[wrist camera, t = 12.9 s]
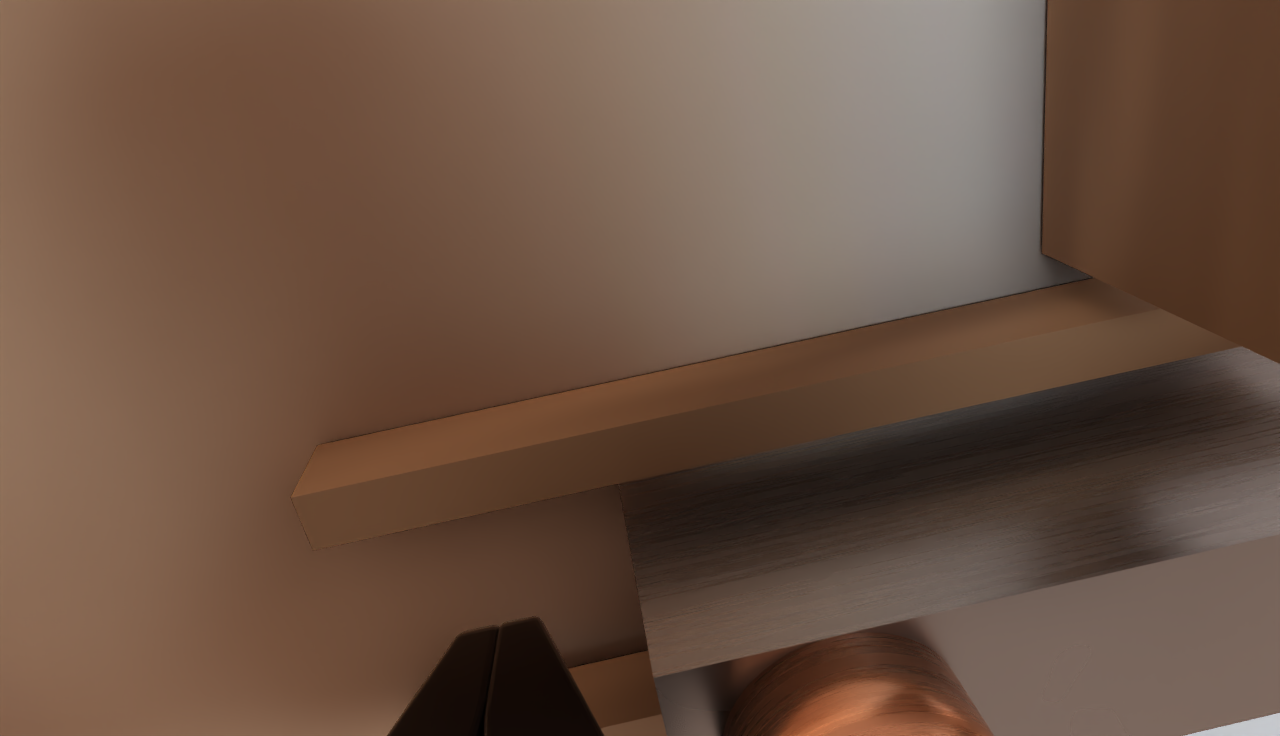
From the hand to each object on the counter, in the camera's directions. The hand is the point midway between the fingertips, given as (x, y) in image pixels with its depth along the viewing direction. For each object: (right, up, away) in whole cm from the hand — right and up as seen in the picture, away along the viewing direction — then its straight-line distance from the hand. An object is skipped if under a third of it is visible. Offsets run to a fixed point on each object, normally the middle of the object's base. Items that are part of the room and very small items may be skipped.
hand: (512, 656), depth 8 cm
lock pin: (+5, +1, +1) cm, 5 cm away
